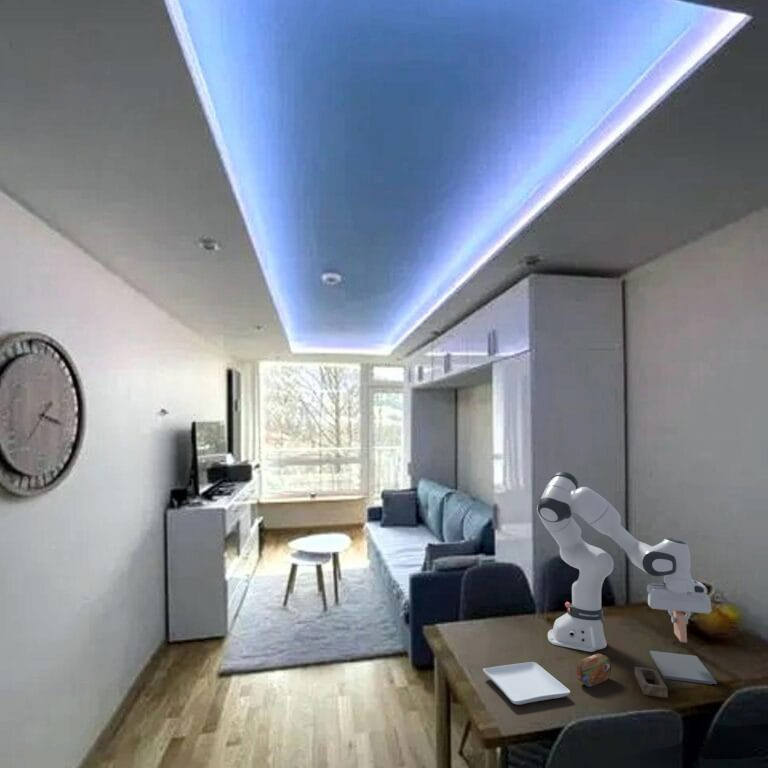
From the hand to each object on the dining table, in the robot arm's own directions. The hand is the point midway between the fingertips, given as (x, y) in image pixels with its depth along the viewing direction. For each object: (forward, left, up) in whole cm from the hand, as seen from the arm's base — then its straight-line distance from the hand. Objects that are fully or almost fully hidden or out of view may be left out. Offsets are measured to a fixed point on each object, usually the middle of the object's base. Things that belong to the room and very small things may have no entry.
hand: (679, 622), depth 183 cm
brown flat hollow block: (-14, -17, -16) cm, 27 cm away
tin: (-32, -19, -16) cm, 41 cm away
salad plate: (-55, -30, -17) cm, 65 cm away
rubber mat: (0, 0, -16) cm, 16 cm away
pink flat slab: (0, 0, -5) cm, 5 cm away
